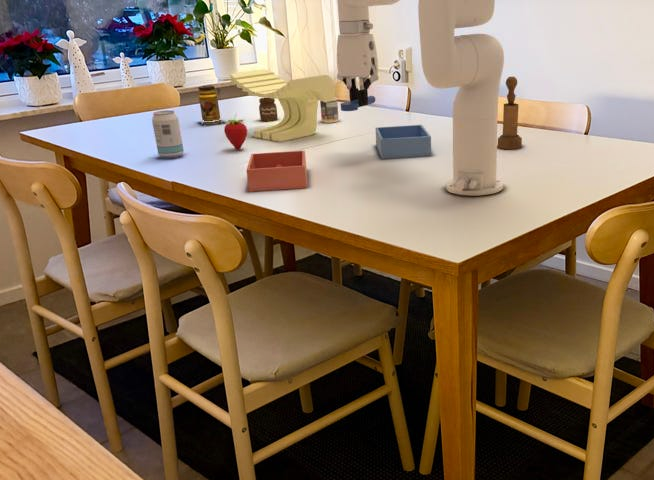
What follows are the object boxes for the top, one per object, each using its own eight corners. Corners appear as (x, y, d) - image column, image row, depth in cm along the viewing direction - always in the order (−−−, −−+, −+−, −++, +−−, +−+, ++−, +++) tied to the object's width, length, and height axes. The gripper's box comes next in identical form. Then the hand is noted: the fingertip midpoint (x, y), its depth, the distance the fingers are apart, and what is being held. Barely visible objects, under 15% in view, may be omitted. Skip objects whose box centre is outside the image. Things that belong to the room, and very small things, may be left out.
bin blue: (431, 155, 195) (431, 136, 193) (381, 158, 194) (380, 139, 192) (422, 142, 211) (421, 124, 208) (376, 145, 209) (375, 127, 207)
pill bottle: (319, 121, 248) (316, 90, 243) (335, 119, 250) (332, 88, 245) (325, 123, 243) (322, 92, 239) (341, 121, 245) (339, 90, 241)
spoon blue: (367, 102, 199) (366, 94, 198) (380, 103, 197) (380, 95, 196) (337, 110, 189) (336, 102, 188) (351, 111, 187) (351, 103, 186)
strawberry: (239, 146, 216) (234, 110, 211) (254, 149, 211) (249, 113, 207) (222, 149, 212) (217, 113, 208) (237, 153, 208) (232, 116, 203)
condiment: (204, 126, 248) (198, 88, 243) (198, 122, 255) (192, 85, 249) (225, 123, 251) (220, 86, 246) (218, 120, 258) (213, 83, 252)
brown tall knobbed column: (520, 149, 198) (523, 78, 189) (496, 149, 199) (498, 78, 191) (522, 144, 203) (524, 74, 195) (498, 144, 205) (500, 75, 196)
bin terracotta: (306, 187, 171) (304, 166, 169) (249, 191, 170) (246, 169, 168) (306, 170, 186) (304, 150, 184) (254, 173, 185) (251, 153, 183)
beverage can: (189, 154, 209) (181, 110, 203) (176, 159, 203) (168, 114, 198) (167, 153, 211) (159, 110, 205) (154, 159, 205) (145, 114, 199)
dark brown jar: (259, 119, 256) (254, 82, 250) (277, 117, 257) (273, 81, 252) (261, 122, 251) (257, 84, 245) (280, 120, 252) (275, 83, 247)
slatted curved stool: (338, 135, 224) (333, 73, 216) (296, 145, 214) (290, 80, 206) (278, 125, 243) (272, 68, 235) (238, 133, 234) (230, 73, 225)
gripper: (389, 27, 183) (392, 104, 192) (337, 27, 191) (342, 101, 199) (372, 29, 178) (376, 109, 186) (319, 29, 185) (326, 106, 194)
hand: (359, 104), depth 193 cm, fingers closed on spoon blue, 2 cm apart
